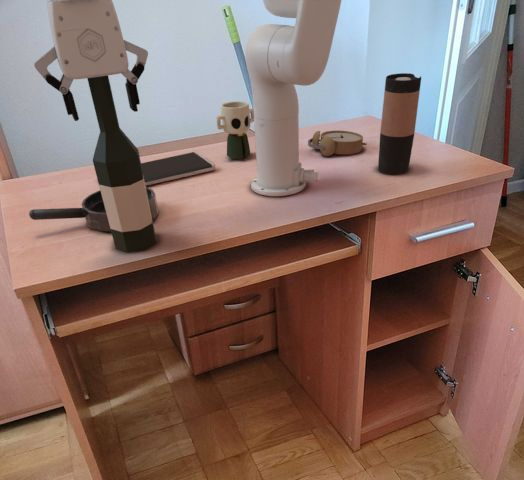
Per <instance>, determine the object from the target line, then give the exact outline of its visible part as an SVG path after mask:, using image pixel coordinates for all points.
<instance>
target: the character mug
mask: <svg viewBox="0 0 524 480" xmlns="http://www.w3.org/2000/svg"><path fill="white" fill-rule="evenodd" d="M220 113H221V114H219V115H217V116H216V128H217V130H222V131H223V132H224V133H225V134H228V135H227V137H226V138H227V139H226V156H227V157H229V158H230V159H234V160H241V159H244V157H245V158H249V157H250V156H251V147H250V143H249V137H248V135H247V133H248V132H249V130H250V128H251V123H254V109H253V108H250V105H249V102H247V101H241V100H237V101H227V102H224V103H222V104H220Z"/></svg>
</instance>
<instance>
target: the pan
mask: <svg viewBox="0 0 524 480" xmlns="http://www.w3.org/2000/svg"><path fill="white" fill-rule="evenodd" d="M146 191H147V196H148V201H149V206H150V211H151V216H152V221H153V220H154V219H155V218H156V217H157V216H158V213H159V207H158V202H157V201H158V200H157V197H156V196H157V195H156V192H155V191H154V189H151V188H150V187H149V186H148V187H147V186H146ZM81 208H83V211H84V214H85V217H84V218H85V221H86V224H87V226H88V227H90V228H91V229H94V230H98V231H100V232H105V233H106V232H108V233H109V232H110V233H111V229H110V225H109V221H108V217H107V214H106V210H105V206H104V202H103V198H102V194H101V191H100V190H97V191H95V192H92V193H91V194H88V195H87V196H86V197H85V198H84V199H83V200H82V202H81Z"/></svg>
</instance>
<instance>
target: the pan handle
mask: <svg viewBox="0 0 524 480" xmlns="http://www.w3.org/2000/svg"><path fill="white" fill-rule="evenodd" d="M28 216H29V218H30V219H31V220H34V221H40V220H41V221H42V220H65V219H84V218H85V214H84V211H83V208H82V207H65V208H37V209H31V210H30V211H29V212H28Z"/></svg>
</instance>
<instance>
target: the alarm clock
mask: <svg viewBox="0 0 524 480" xmlns="http://www.w3.org/2000/svg"><path fill="white" fill-rule="evenodd" d="M363 140H364V136H363V135H362V134H360V133H358V132H354V131H349V130H327V131H323V132H322V133H321V130H317V131H315V132H314V133H313V135H312V137H311V138H310V139H308V140H307V146H308V147H310V148H312V149H314V150H317V151H320V153H321V154H322V155H323V156H324V157H330V156H332V155H334V154H337V155H353V154H357V153H360V152H361V151H362V150H363V149H362V148H363V146H367V145H368V144H367V143H366V142H364V141H363Z"/></svg>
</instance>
